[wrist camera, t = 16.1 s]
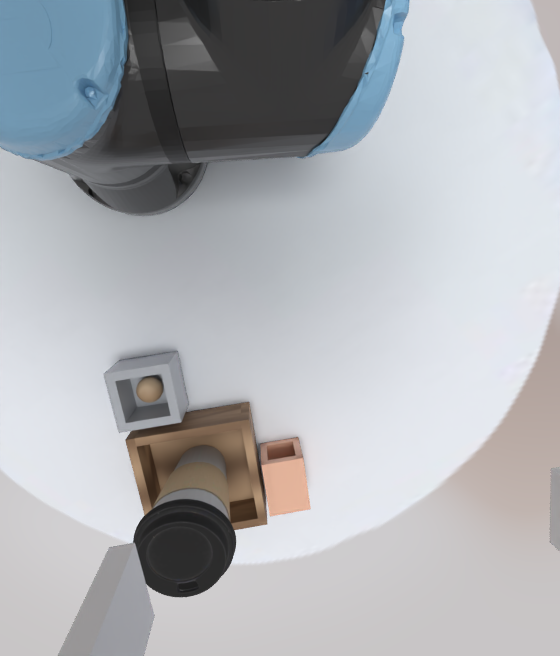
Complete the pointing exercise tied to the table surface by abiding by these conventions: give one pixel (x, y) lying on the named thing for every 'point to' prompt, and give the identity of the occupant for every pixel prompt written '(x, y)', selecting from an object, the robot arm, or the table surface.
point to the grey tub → (134, 410)
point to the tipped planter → (284, 476)
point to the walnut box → (213, 430)
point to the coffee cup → (188, 527)
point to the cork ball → (149, 389)
